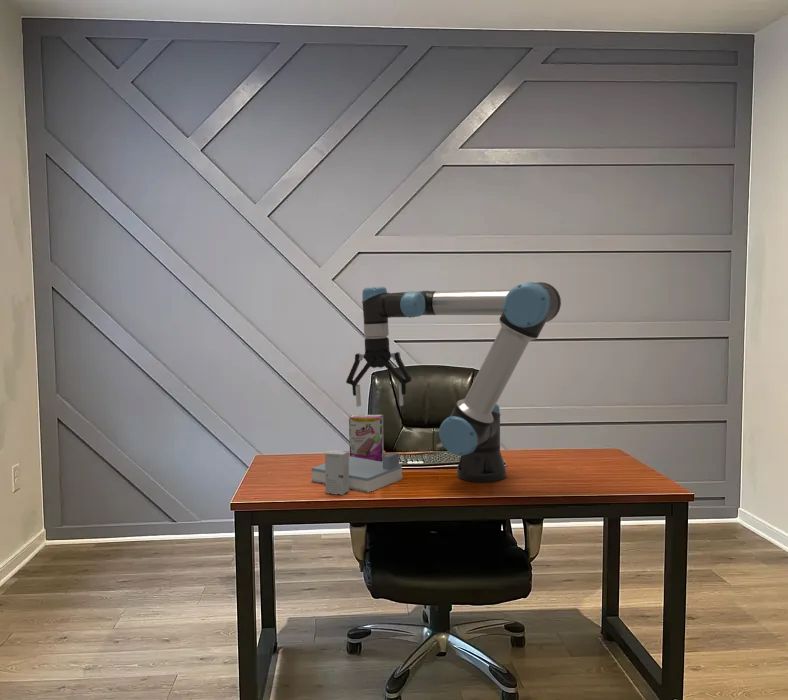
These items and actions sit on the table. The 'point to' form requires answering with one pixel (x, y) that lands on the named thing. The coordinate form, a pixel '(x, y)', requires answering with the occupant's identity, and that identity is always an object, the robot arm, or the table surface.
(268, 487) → the table surface
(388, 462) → the lid
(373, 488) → the white shallow tray
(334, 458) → the skincare box
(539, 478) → the table surface
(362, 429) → the candy bar box
